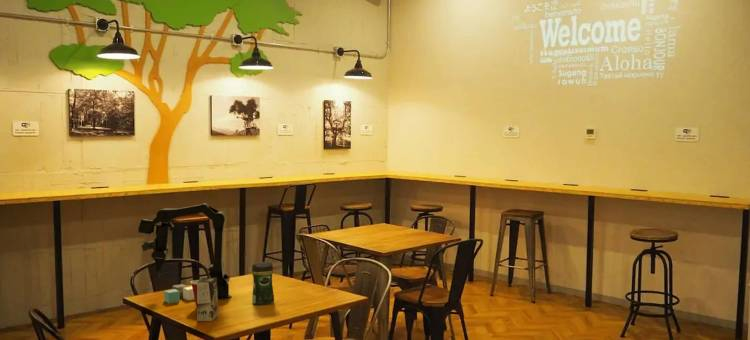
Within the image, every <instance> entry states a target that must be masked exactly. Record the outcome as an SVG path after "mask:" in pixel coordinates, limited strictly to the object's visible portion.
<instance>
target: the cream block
mask: <svg viewBox="0 0 750 340" xmlns="http://www.w3.org/2000/svg"><path fill="white" fill-rule="evenodd" d="M182 299H184V300H187V301H192V300H195V299H194V293H193V289H192V285H191V286H187V287H185V288H183V297H182Z"/></svg>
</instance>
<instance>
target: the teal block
mask: <svg viewBox="0 0 750 340" xmlns="http://www.w3.org/2000/svg"><path fill="white" fill-rule="evenodd" d="M163 292H164V295H163V296H164V297H163V298H164V302H165V303H167V304H175V302H176V303H180V302H181V299H180V293H179V291H178V290H176V289H173V288H172V289H168V290H164V291H163Z"/></svg>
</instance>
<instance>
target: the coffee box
mask: <svg viewBox="0 0 750 340" xmlns="http://www.w3.org/2000/svg"><path fill="white" fill-rule="evenodd" d="M198 280H199V281H198V282H197V308H196V309H197V312H196V313H197V319H196V320H197V322H198V321H199V322H212V321H213V320H215V318H216V317H218V314H219V313H218V311H219V310H218V309H219V308H218V299H217V278H210V277H202V278H201V279H198Z"/></svg>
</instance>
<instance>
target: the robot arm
mask: <svg viewBox="0 0 750 340" xmlns="http://www.w3.org/2000/svg"><path fill="white" fill-rule="evenodd" d="M202 213H203V214H204V215H205V216H206V217H207V218H208V219H210V220H211V221H212V227H213V231H214V240H213V241H214V245H213V246H214V247H213V264H210V266H209V274H208V276H209V278H217V300H223V299H229V298H232V297H233V296H232V295H230V291H229V290H230V288H229V286H230V285H229V283H230V280H231V277H230V276H229V275H227V273H226V268H225V264H224V260H223V259H224V232H225V228H226V225H227V220H228V215H227V214H226V213H225V212H224V211H219V210H218V209H216V208H214V207H212V206H211V205H209V204H208V203H206V202H205V203H202V204H197V205H196V204H195V205H190V206H185V207H180V208H175V207H174V208H171V207H169V208H168V207H166V208H165V207H164V208H162V209H161V210H157V212H156V216H155V218H153V219H146V218H142V219H140V222H139V225H138V229H137V230H138V234H141V235H147V236H148V235H151V236H152V235H153V234H155V235H154V238H153V239H152V240H149V241H144V242H142V243H141V244H140V245H141V249H142V252H146V251H148V250H152V251H151V257H150V258H151V259H152V260H153V261H154V263H155V271H156V273H157V272H158V273H159V272H160V270H161V268H162V266H163V265H164V262H165V260H166V259H167V256H168V253H169V248H170V246H169V245H168V243H169V234H170V228H174V227H175V225H174V223H173V222H172V221H171V220H174V219H176V218H181V217H185V216H191V215H195V214H202ZM168 221H169V222H168ZM160 223H161V224H160Z"/></svg>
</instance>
